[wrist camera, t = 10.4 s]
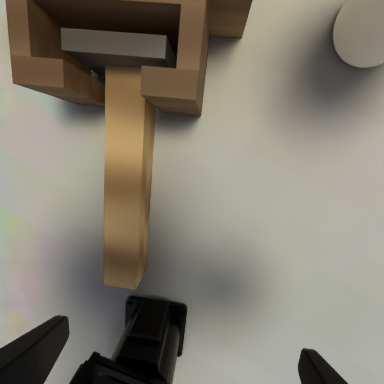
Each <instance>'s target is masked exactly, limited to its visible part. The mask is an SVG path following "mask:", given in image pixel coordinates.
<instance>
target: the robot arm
mask: <svg viewBox="0 0 384 384" xmlns="http://www.w3.org/2000/svg"><path fill="white" fill-rule="evenodd" d="M131 301H132V302H131ZM181 309H183V310H181ZM186 315H187V306H186V305H184V304H179V303H172V302H166V301H160V300H154V299H147V298H141V297H135V296H129V297H128V299H127V300H126V316H125V330H124V332H123V334H122V336H121V338H120V340H119V343H118V345H117V347H116V349H115V351H114V353H113V355H112V357H111V359H108V358H106V357H103V356H101V355H100V353H97V352H95V351H94V352H93V354H92V355H91V357H90V358H89V360H88V361H87V360H86V361H85V362H84V364H81V365H80V366H79V368H78V370H77V371H76V373H75V375H74V376H73V378H72V380H71V381H70V383H69V384H172V382H173V376H174V370H175V364H176V358H177V357H179V356H181V355H182V350H183V341H184V333H185V324H186ZM68 337H69V322H68V317H67V316H61V315H57V316H55V317H53V318H51V319H49V320H48V321H46V322H44V323H43V324H41V325H39V326H38V327H36V328H34V329H32V330H31V331H29V332H27V333H26V334H24V335H22V336H21V337H19V338H17V339H16V340H14V341H12V342H10V343H9V344H7V345H5V346H4V347H2V348H0V384H44V382H45V380H46V379H47V377H48V375H49V373H50V371H51V369H52V368H53V366H54V364H55V362H56V360H57V358H58V357H59V355H60V353H61V351H62V349H63V347H64V346H65V344H66V342H67V340H68ZM298 372H299V376H300V380H301V384H348V383H347V382H346V381H345V380H344V379H343V378H342V377H341V376H340V375H339V374H338V373H337V372H336V371H335V370H334V369H333V368H332V367H331V366H330V365H329V364H328V363H327V362H326V361H325V360H324V358H323V357H322V356H321V355H320V354H319V353H318V352H317V351H315V350H313V349H307V348H303V349H302V351H301V355H300V359H299V363H298Z"/></svg>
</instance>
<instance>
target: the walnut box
mask: <svg viewBox="0 0 384 384" xmlns="http://www.w3.org/2000/svg"><path fill="white" fill-rule="evenodd" d="M251 3H252V0H6V11H7V22H8V33H9V44H10V55H11V67H12V78H13V83H14V84H17V85H20V86H23V87H26V88H29V89H32V90H35V91H38V92H42V93H45V94H48V95H51V96H54V97H57V98H60V99H63V100H66V101H69V102H72V103H76V104H80V105H91V106H101V107H105V84H104V83H102V82H100V81H98V80H97V79H95V78H93V77H92V76H91V69H90V68H88V67H87V66H85V65H84V64H82V63H81V62H79V61H77V60H76V59H74V58H73V57H71V56H70V55H68V54H67V53H65V52H64V51H62V47H61V28H71V29H85V30H98V31H112V32H125V33H139V34H152V35H166V36H167V38H168V41H169V43H170V46H171V48H172V51H173V53H174V54H176V55H177V65H176V68H164V67H151V66H141V90H140V95H141V96H142V97H144V98H145V99H146V100H148V101H149V102H151V103H152V104H153V105H155V106H156V107H157V108H159V109H160V110H161V111H163V112H164V113H174V114H184V115H194V116H201V112H202V102H203V93H204V84H205V74H206V65H207V56H208V47H209V37H210V35H211V36H225V37H239V38H242V35H243V32H244V28H245V25H246V21H247V18H248V14H249V10H250V7H251Z"/></svg>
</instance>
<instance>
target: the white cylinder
mask: <svg viewBox="0 0 384 384" xmlns="http://www.w3.org/2000/svg"><path fill="white" fill-rule="evenodd" d="M333 43H334V47H335V50H336V52H337V54H338V55H339V57H340V58H341V59H342V60H343V61H344V62H346V63H347V64H349V65H351V66H354V67H359V68H370V67H375V66H379V65H381V64H384V0H346V1H345V3H344V4H343V6H342V7H341V9H340V11H339V13H338V15H337V17H336V20H335V23H334V28H333Z"/></svg>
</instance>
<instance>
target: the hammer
mask: <svg viewBox="0 0 384 384" xmlns="http://www.w3.org/2000/svg"><path fill="white" fill-rule="evenodd" d="M61 47H62V51H64V52H65V53H67V54H68V55H70V56H71V57H73V58H74V59H76V60H77V61H79V62H81V63H82V64H84V65H85V66H87V67H88V68H90V69H91V70H93V71H94V72H96V73H97V74H99V75H101V76H102V77H105V184H104V285H108V286H114V287H120V288H126V289H133V290H136V289H137V287H138V285H139V283H140V281H141V279H142V277H143V275H144V273H145V271H146V261H147V245H148V228H149V212H150V196H151V179H152V163H153V147H154V131H155V114H156V106H155V105H153V104H152V103H151V102H149V101H148V100H146V99H145V98H144V97H142V96H141V95H140V90H141V66H151V67H164V68H176V65H177V61H176V58H175V56H174V53H173V51H172V48H171V46H170V43H169V41H168V38H167V36H166V35H152V34H139V33H125V32H112V31H98V30H85V29H71V28H61Z"/></svg>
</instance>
